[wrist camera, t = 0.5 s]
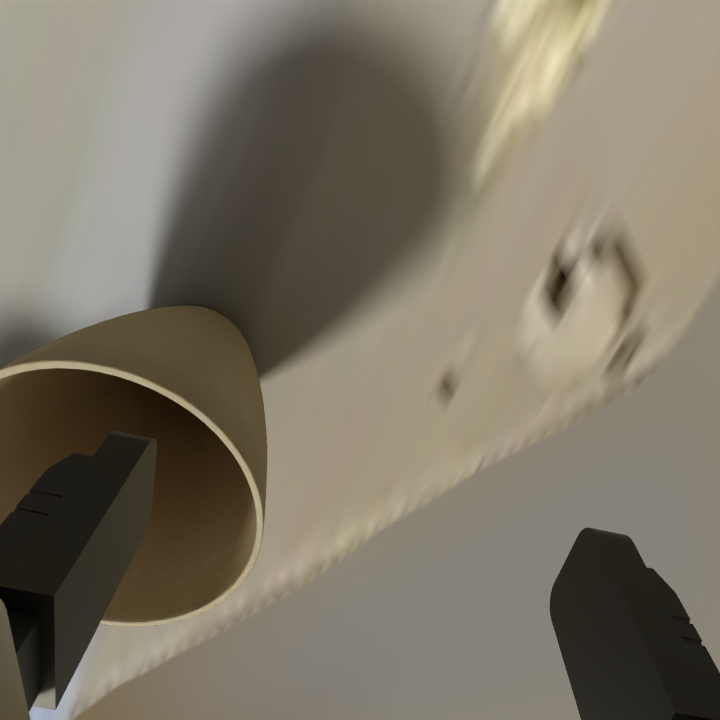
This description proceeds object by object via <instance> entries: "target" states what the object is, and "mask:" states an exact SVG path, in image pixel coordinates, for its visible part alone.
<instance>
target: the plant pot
mask: <svg viewBox="0 0 720 720" xmlns="http://www.w3.org/2000/svg"><path fill="white" fill-rule="evenodd" d="M112 431H118V432H123V433H127V434H132V435H137V436H142V437H147V438H152V439H155V440H156V442H157V453H156V466H155V478H154V490H153V502H152V509H151V514H150V519H149V522H148V526H147V529H146V531H145V534H144V537H143V539H142V541H141V543H140V545H139V547H138V549H137V551H136V553H135V555H134V557H133V559H132V561H131V563H130V565H129V567H128V569H127V570H126V572H125V574H124V576H123V578H122V580H121V582H120V584H119V586H118V588H117V590H116V592H115V594H114V596H113V598H112V600H111V602H110V604H109V606H108V608H107V610H106V612H105V614H104V616H103V618H102V620H101V622H100V623H101V624H108V625H117V626H146V625H158V624H164V623H170V622H174V621H178V620H182V619H186V618H189V617H192V616H194V615H197V614H200V613H202V612H204V611H206V610H209V609H210V608H212V607H214V606H216V605H217V604H219V603H220V602H222V601H223V600H225V599H226V598H227V597H228V596H229V595H231V594H232V593H233V592H234V591H235V590H236V589H237V588H238V587H239V586H240V585H241V584H242V583H243V581H244V580H245V579H246V578H247V576H248V575H249V573H250V571H251V570H252V568H253V566H254V564H255V562H256V560H257V557H258V554H259V551H260V548H261V543H262V537H263V528H264V515H265V500H266V478H267V435H266V423H265V413H264V404H263V397H262V392H261V387H260V382H259V378H258V373H257V370H256V366H255V363H254V360H253V357H252V354H251V351H250V349H249V346H248V344H247V342H246V340H245V338H244V336H243V335H242V333H241V332H240V330H239V329H238V328H237V327H236V326H235V325H234V324H233V323H232V322H231V321H230V320H229V319H228V318H226V317H225V316H223V315H221V314H220V313H218V312H216V311H213V310H211V309H208V308H205V307H200V306H169V307H160V308H154V309H148V310H143V311H139V312H135V313H131V314H127V315H123V316H119V317H116V318H113V319H110V320H106V321H103V322H100V323H97V324H95V325H92V326H89V327H86V328H84V329H81V330H79V331H76V332H74V333H71V334H69V335H66V336H64V337H62V338H59V339H57V340H55V341H53V342H50V343H48V344H46V345H44V346H42V347H40V348H38V349H36V350H34V351H32V352H30V353H28V354H26V355H24V356H22V357H20V358H18V359H16V360H14V361H12V362H10V363H8V364H6V365H4V366H3V367H1V368H0V525H1V524H2V522H3V521H4V520H5V519H6V518H7V516H8V515H9V514H10V513H11V512H14V510H15V507H16V506H17V504H18V503H19V502H20V501H21V500H22V498H23V497H24V496H25V495H26V494H29V492H30V489H31V488H32V486H33V485H34V484H35V483H36V482H37V480H38V479H39V478H40V477H41V476H42V474H43V473H44V472H45V471H46V470H47V468H49V467H51V466H52V465H54V464H56V463H58V462H59V461H61V460H63V459H65V458H66V457H68V456H70V455H71V454H73V453H79V454H84V455H89V456H93V455H94V454H95V452H96V451H97V450H98V448H99V447H100V446H101V444H102V443H103V442H104V440H105V439H106V437H107V436H108V435H109V434H110V433H111V432H112Z"/></svg>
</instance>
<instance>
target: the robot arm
mask: <svg viewBox="0 0 720 720" xmlns="http://www.w3.org/2000/svg"><path fill="white" fill-rule="evenodd" d="M156 453H157V442H156V440H155V439H152V438H147V437H142V436H137V435H132V434H127V433H123V432H118V431H112V432H111V433H110V434H109V435H108V436H107V437H106V439H105V440H104V442H103V443H102V444H101V446H100V447H99V448H98V450H97V451H96V452H95V454H94V455H93V456H89V455H84V454H79V453H73V454H71V455H70V456H68V457H66V458H65V459H63V460H61V461H59V462H58V463H56V464H54V465H52V466H51V467H49V468H47V470H46V471H45V472H44V473H43V474H42V476H41V477H40V478H39V479H38V480H37V482H36V483H35V484H34V485H33V486H32V488H31V489H30V492H29V494H26V495H25V496H24V497H23V498H22V500H21V501H20V502H19V503H18V504H17V506H16V507H15V510H14V512H11V513H10V514H9V515H8V516H7V518H6V519H5V520H4V521H3V522H2V524H1V525H0V720H30V716H29V711H30V709H31V707H32V706H36V707H41V708H47V709H53V710H56V708H57V706H58V704H59V702H60V700H61V698H62V696H63V694H64V692H65V690H66V688H67V686H68V684H69V682H70V680H71V679H72V677H73V675H74V673H75V671H76V669H77V667H78V665H79V663H80V661H81V659H82V657H83V655H84V653H85V651H86V649H87V647H88V645H89V643H90V641H91V639H92V637H93V635H94V633H95V631H96V629H97V627H98V625H99V624H100V622H101V620H102V618H103V616H104V614H105V612H106V610H107V608H108V606H109V604H110V602H111V600H112V598H113V596H114V594H115V592H116V590H117V588H118V586H119V584H120V582H121V580H122V578H123V576H124V574H125V572H126V570H127V569H128V567H129V565H130V563H131V561H132V559H133V557H134V555H135V553H136V551H137V549H138V547H139V545H140V543H141V541H142V539H143V537H144V534H145V531H146V529H147V526H148V522H149V519H150V514H151V509H152V502H153V490H154V478H155V466H156ZM550 615H551V620H552V623H553V626H554V630H555V633H556V636H557V640H558V643H559V646H560V650H561V653H562V657H563V660H564V663H565V667H566V670H567V673H568V677H569V680H570V684H571V687H572V690H573V693H574V697H575V700H576V704H577V707H578V710H579V714H580V717H581V720H720V673H719V671H718V669H717V667H716V665H715V664H714V662H713V660H712V658H711V656H710V655H709V653H708V651H707V649H706V647H705V646H702V645H701V641H702V640H701V638H700V636H699V634H698V633H697V631H696V629H695V627H694V626H693V624H690V622H689V621H690V618H689V616H688V615H687V613H686V611H685V609H684V607H683V605H682V603H681V602H680V600H679V598H678V596H677V594H676V593H675V592H674V591H673V590H672V589H671V588H670V586H669V585H668V584H667V583H666V582H665V581H664V580H663V579H662V578H661V577H660V576H659V575H658V574H657V573H656V572H655V571H654V569H651V568H646V566H645V564H644V562H643V560H642V558H641V556H640V554H639V552H638V551H637V549H636V547H635V545H634V543H633V541H632V539H630V537H628V536H627V535H622V534H618V533H613V532H607V531H603V530H597V529H593V528H585V529H583V530H582V531H581V532H580V533H579V535H578V537H577V539H576V541H575V543H574V545H573V547H572V549H571V551H570V553H569V555H568V557H567V559H566V561H565V563H564V565H563V567H562V569H561V571H560V573H559V575H558V577H557V579H556V581H555V583H554V585H553V588H552V592H551V597H550Z"/></svg>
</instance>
